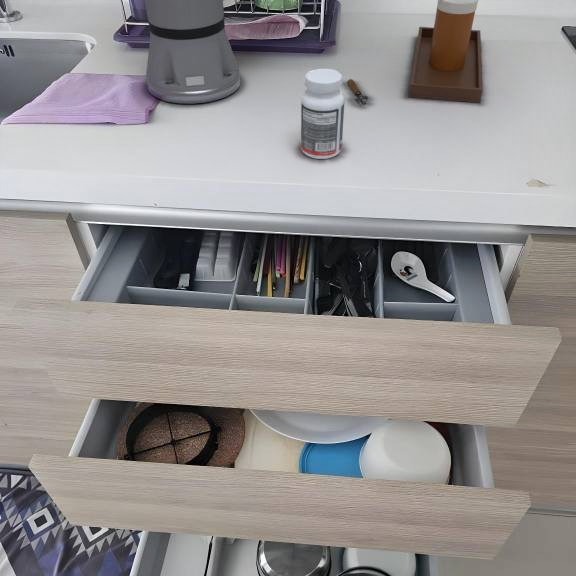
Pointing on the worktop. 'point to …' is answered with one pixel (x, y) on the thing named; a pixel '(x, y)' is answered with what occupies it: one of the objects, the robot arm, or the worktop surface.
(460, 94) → the tray
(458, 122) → the worktop surface
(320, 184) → the worktop surface
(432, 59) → the amber bottle middle
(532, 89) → the worktop surface
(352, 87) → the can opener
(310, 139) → the pill bottle
